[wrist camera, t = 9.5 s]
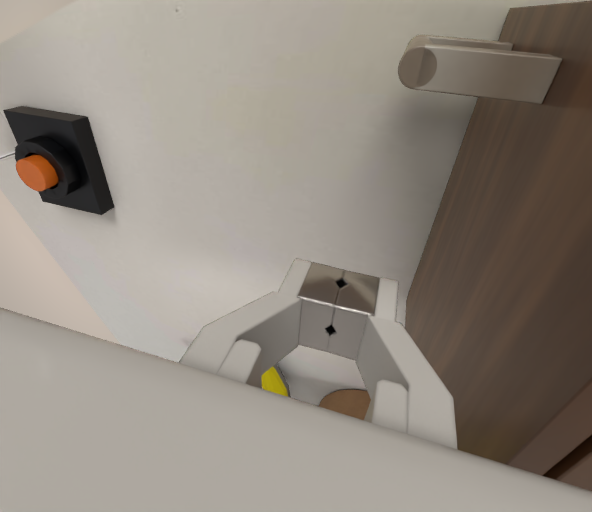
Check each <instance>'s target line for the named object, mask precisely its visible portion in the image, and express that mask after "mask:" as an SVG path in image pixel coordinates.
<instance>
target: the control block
mask: <svg viewBox="0 0 592 512" xmlns="http://www.w3.org/2000/svg"><path fill="white" fill-rule="evenodd" d="M3 111H4V113H5V116H6V118H7V120H8V123H9V125H10V127H11V129H12V132H13V134H14V136H15V139H16V141H17V143H18V145H17V146H16V147H15V159H16V162H17V161H18V160H20V159H23V158H26V157H29V156H31V155H34V154H37V155H41V156H42V157H43V158H45V159H46V160H48V162H49V163H50V164H51V165H52V167H53V168H54V169H55V171H56V174H57V177H58V179H59V181H58V183H57V184H56V185H54V186H52V187H50V188H48V189H46V190H43V191H38V192H39V194H40V196H41V198H42V201H43V202H48V203H52V204H56V205H61V206H65V207H69V208H74V209H78V210H82V211H87V212H91V213H95V214H100V215H102V214H104V213H106V212H107V211H109V210H110V209H112V208H114V205H113V201H112V198H111V195H110V191H109V188H108V184H107V181H106V178H105V174H104V171H103V168H102V164H101V161H100V158H99V154H98V151H97V147H96V144H95V141H94V137H93V134H92V131H91V127H90V124H89V121H88V117H86V116H80V115H73V114H67V113H61V112H55V111H49V110H43V109H36V108H30V107H24V106H20V107H15V108H11V109H6V110H3Z"/></svg>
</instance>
